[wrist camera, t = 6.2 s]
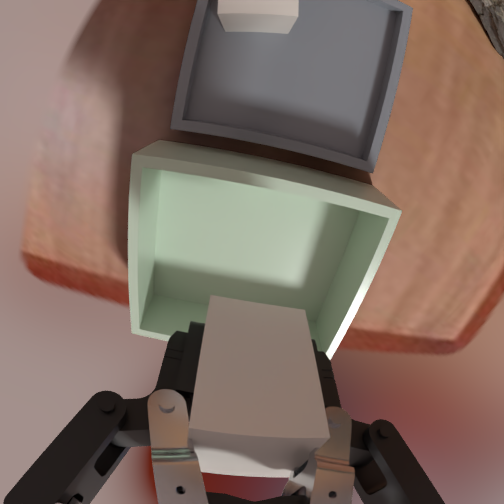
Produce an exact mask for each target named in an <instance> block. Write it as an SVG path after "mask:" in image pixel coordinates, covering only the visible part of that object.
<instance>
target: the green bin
mask: <svg viewBox="0 0 504 504" xmlns="http://www.w3.org/2000/svg"><path fill="white" fill-rule="evenodd" d="M401 213H402V210H400V209H399V208H398V207H397V206H396V205H395V204H394V203H393V202H392V201H390V200H389V199H388V198H387V197H386V196H385V195H384V194H382V193H381V192H380V191H379V190H378V189H377V188H375V187H374V186H373V185H370V184H367V183H363V182H360V181H356V180H353V179H349V178H346V177H342V176H339V175H335V174H331V173H327V172H324V171H320V170H316V169H312V168H308V167H304V166H300V165H295V164H291V163H287V162H282V161H278V160H273V159H269V158H264V157H259V156H254V155H249V154H244V153H239V152H234V151H228V150H223V149H217V148H211V147H205V146H199V145H192V144H186V143H179V142H171V141H164V140H158V141H156V142H154V143H152V144H150V145H148V146H146V147H144V148H142V149H140V150H139V151H137V152H135V153H133V154H132V161H131V173H130V189H129V211H128V279H129V302H130V317H131V329H132V333H133V334H137V335H142V336H146V337H150V338H155V339H160V340H164V341H169V338H170V337H171V336H172V335H173V334H174V333H175V332H176V331H182V332H187V333H188V330H189V325H190V321H194V322H199V323H206V317H207V311H208V306H209V300H210V295H215V296H220V297H226V298H232V299H238V300H244V301H250V302H256V303H262V304H269V305H275V306H282V307H289V308H296V309H303V310H305V312H306V317H307V321H308V326H309V331H310V336H311V339H314V340H315V341H316V345H317V350H318V351H323V352H325V354H326V355H327V357H328V358H329V359H331V358H332V356H333V354H334V352H335V351H336V349H337V347H338V345H339V344H340V342H341V340H342V338H343V336H344V335H345V333H346V331H347V329H348V327H349V325H350V324H351V322H352V320H353V318H354V316H355V314H356V312H357V310H358V308H359V306H360V304H361V302H362V300H363V298H364V296H365V294H366V292H367V290H368V288H369V286H370V284H371V282H372V280H373V278H374V276H375V274H376V271H377V269H378V267H379V265H380V263H381V260H382V258H383V256H384V254H385V251H386V249H387V247H388V244H389V242H390V240H391V237H392V235H393V233H394V230H395V228H396V225H397V223H398V220H399V218H400V215H401Z"/></svg>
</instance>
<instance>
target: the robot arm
mask: <svg viewBox="0 0 504 504" xmlns="http://www.w3.org/2000/svg"><path fill="white" fill-rule="evenodd" d="M204 328H205V323H199V322H194V321H190V325H189V330H188V333H187V332H182V331H176V332H175V333H174V334H173V335H172V336H171V337H170V338H169V341H168V344H167V349H166V352H165V356H164V359H163V363H162V366H161V370H160V374H159V377H158V381H157V385H156V388H155V389H154V391H153V392H152V393H151V394H150V395H148V396H146V397H143V398H139V399H123V398H122V397H121V396H120V395H118V394H117V393H115V392H112V391H101V392H98V393H96V394H95V395H94V396H92V398H91V399H90V400H89V401H88V402H87V403H86V404H85V405H84V406H83V408H82V409H81V410H80V411H79V412H78V413H77V414H76V416H75V417H74V418H73V419H72V420H71V421H70V422H69V423H68V425H67V426H66V427H65V428H64V429H63V430H62V431H61V432H60V434H59V435H58V436H57V437H56V438H55V439H54V441H53V442H52V443H51V444H50V445H49V446H48V447H47V449H46V450H45V451H44V452H43V453H42V454H41V456H40V457H39V458H38V459H37V460H36V461H35V462H34V464H33V465H32V466H31V467H30V468H29V470H28V471H27V472H26V473H25V474H24V475H23V477H22V478H21V479H20V480H19V482H18V483H17V484H16V485H15V486H14V487H13V489H12V490H11V491H10V492H9V493H8V494H7V496H6V497H5V499H4V504H90V503H91V501H92V500H93V499H94V497H95V496H96V494H97V493H98V492H99V490H100V489H101V487H102V486H103V485H104V483H105V482H106V481H107V479H108V478H109V477H110V475H111V474H112V473H113V471H114V470H115V468H116V467H117V466H118V464H119V463H120V461H121V460H122V459H123V457H124V456H125V455H126V453H127V452H128V450H129V449H130V448H131V447H135V446H151V450H152V463H153V471H154V478H155V485H156V491H157V497H158V503H159V504H351V503H352V495H353V486H354V487H355V489H356V491H357V493H358V494H359V496H360V498H361V500H362V501H363V503H364V504H445V503H444V501H443V500H442V498H441V497H440V495H439V494H438V492H437V490H436V489H435V487H434V486H433V484H432V483H431V481H430V480H429V478H428V476H427V475H426V473H425V472H424V470H423V469H422V467H421V466H420V464H419V463H418V461H417V460H416V458H415V457H414V455H413V454H412V452H411V450H410V449H409V447H408V446H407V444H406V443H405V441H404V440H403V439H402V437H401V435H400V434H399V432H398V431H397V430H396V428H395V427H394V425H393V424H392V423H390V422H389V421H386V420H381V419H380V420H376V421H374V422H373V423H372V424H371V425H370V424H365V423H362V422H358V421H355V420H353V419H351V417H350V415H349V414H348V413H347V412H346V411H345V410H343V409H342V408H341V405H340V400H339V396H338V392H337V387H336V383H335V380H334V375H333V372H332V367H331V362H330V359H329V358H328V357H327V355H326V354H325V352H323V351H318V350H317V345H316V341H315V340H314V339H311V340H312V345H313V350H314V355H315V360H316V365H317V370H318V375H319V380H320V385H321V390H322V396H323V401H324V406H325V412H326V417H327V423H328V429H329V434H330V438H329V439H328V440H327V441H326V442H325V443H324V444H323V445H322V446H321V447H320V448H314V449H313V450H312V451H311V452H310V454H309V459H308V460H307V461H306V462H305V463H304V464H303V465H302V466H301V467H295V468H294V469H293V470H292V471H291V473H290V477H289V480H288V482H287V484H286V486H285V488H284V490H283V493H282V496H280V497H276V498H271V499H267V500H262V501H257V502H253V501H249V500H245V499H241V498H238V497H234V496H231V495H228V494H222V493H212V492H206V491H205V487H204V483H203V479H202V475H201V470H200V465H199V461H198V457H197V454H196V452H195V450H194V446H193V441H192V439H190V438H188V430H189V422H190V416H191V409H192V402H193V396H194V389H195V383H196V376H197V370H198V364H199V358H200V352H201V346H202V340H203V334H204Z"/></svg>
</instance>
